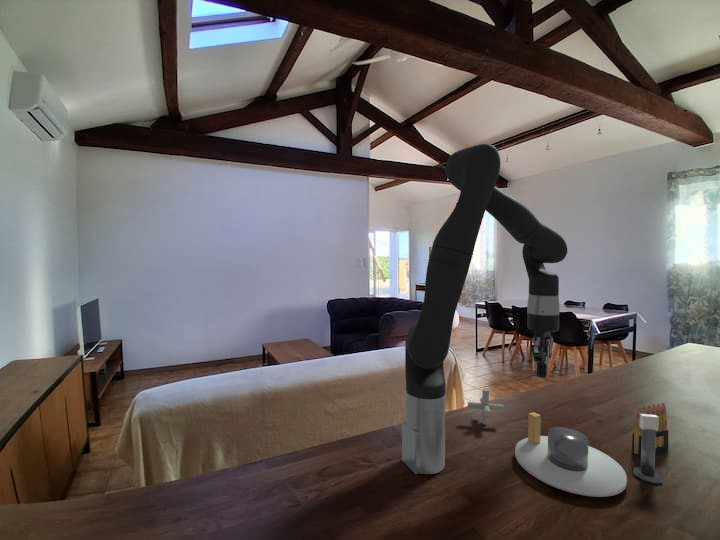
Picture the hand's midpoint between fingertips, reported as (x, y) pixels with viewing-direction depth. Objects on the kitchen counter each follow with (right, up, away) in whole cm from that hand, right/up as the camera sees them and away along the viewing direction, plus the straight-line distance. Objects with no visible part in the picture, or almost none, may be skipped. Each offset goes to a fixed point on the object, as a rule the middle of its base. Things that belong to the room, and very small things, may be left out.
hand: (542, 376), depth 93 cm
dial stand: (+16, -18, -15) cm, 28 cm away
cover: (-1, -16, -12) cm, 20 cm away
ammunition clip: (+26, -18, -4) cm, 31 cm away
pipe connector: (-11, -17, +11) cm, 23 cm away
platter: (0, -17, -12) cm, 21 cm away
